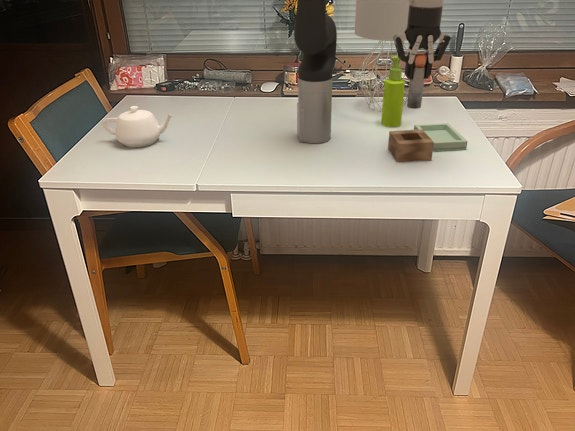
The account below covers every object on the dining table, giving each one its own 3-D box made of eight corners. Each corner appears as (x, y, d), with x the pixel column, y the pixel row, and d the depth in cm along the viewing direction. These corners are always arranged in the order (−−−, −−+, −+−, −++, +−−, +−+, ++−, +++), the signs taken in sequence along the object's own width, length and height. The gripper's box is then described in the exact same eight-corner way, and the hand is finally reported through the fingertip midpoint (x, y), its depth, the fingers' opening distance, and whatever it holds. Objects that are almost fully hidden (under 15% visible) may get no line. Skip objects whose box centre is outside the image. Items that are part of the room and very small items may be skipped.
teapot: (180, 133, 156) (176, 99, 151) (172, 149, 146) (167, 113, 141) (112, 133, 157) (106, 100, 152) (99, 150, 146) (92, 114, 141)
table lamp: (406, 122, 161) (421, -22, 141) (339, 111, 171) (344, -25, 151) (429, 102, 178) (445, -30, 158) (366, 92, 188) (374, -32, 168)
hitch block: (397, 162, 136) (399, 144, 134) (387, 148, 144) (389, 131, 142) (431, 160, 137) (433, 142, 135) (420, 146, 145) (422, 129, 142)
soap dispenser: (404, 127, 157) (411, 59, 148) (380, 126, 159) (386, 58, 149) (404, 121, 162) (411, 54, 152) (381, 119, 164) (386, 53, 154)
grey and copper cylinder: (409, 108, 132) (415, 55, 126) (405, 104, 135) (410, 52, 129) (422, 108, 133) (429, 55, 126) (418, 103, 136) (424, 51, 129)
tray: (429, 151, 142) (431, 143, 141) (413, 132, 154) (414, 124, 153) (466, 149, 143) (467, 141, 142) (447, 131, 155) (448, 123, 154)
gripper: (400, 6, 118) (393, 83, 127) (462, 5, 119) (450, 81, 128) (391, 1, 124) (385, 75, 133) (450, 0, 126) (439, 73, 134)
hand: (417, 77), depth 130 cm, fingers closed on grey and copper cylinder, 3 cm apart
